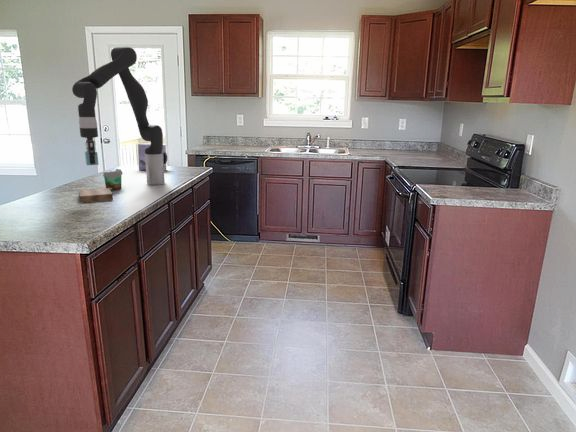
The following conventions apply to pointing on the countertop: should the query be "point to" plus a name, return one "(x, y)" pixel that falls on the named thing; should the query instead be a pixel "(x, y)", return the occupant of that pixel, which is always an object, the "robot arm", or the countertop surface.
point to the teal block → (89, 158)
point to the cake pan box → (142, 156)
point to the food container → (113, 179)
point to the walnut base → (95, 195)
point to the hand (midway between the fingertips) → (92, 163)
